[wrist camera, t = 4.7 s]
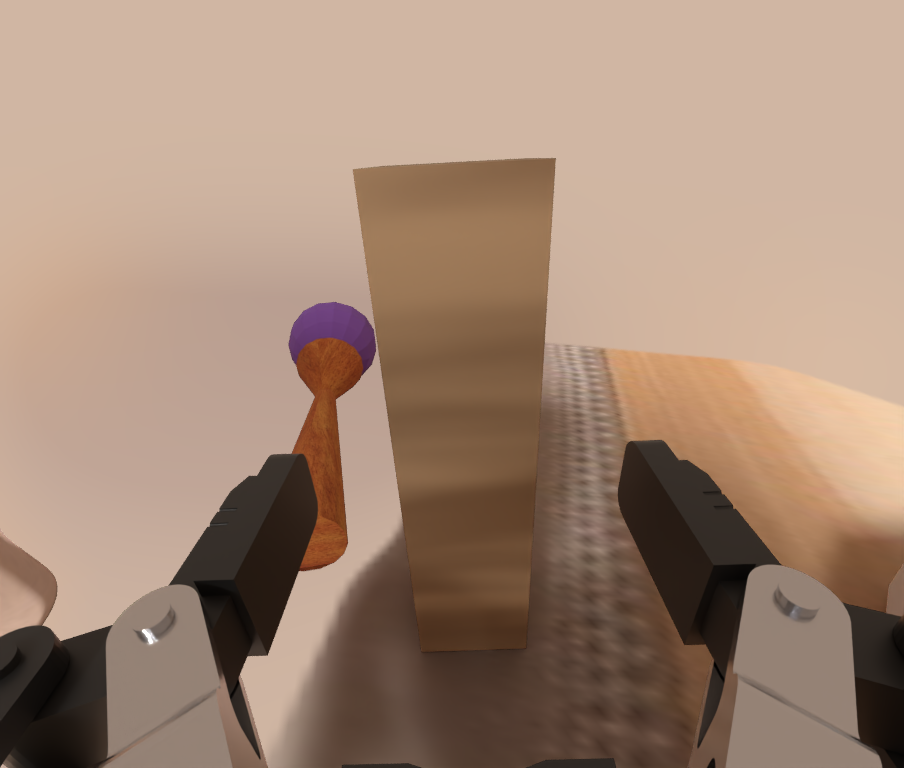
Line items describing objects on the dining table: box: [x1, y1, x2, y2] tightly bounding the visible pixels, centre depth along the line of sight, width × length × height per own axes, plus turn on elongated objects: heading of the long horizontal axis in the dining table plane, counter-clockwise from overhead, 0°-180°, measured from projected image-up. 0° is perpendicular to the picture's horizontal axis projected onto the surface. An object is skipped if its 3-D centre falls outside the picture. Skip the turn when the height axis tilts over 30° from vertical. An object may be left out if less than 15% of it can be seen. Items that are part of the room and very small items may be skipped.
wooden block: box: [353, 158, 556, 652], centre depth 12 cm, size 3×3×14 cm
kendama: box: [289, 302, 376, 571], centre depth 24 cm, size 6×6×20 cm
